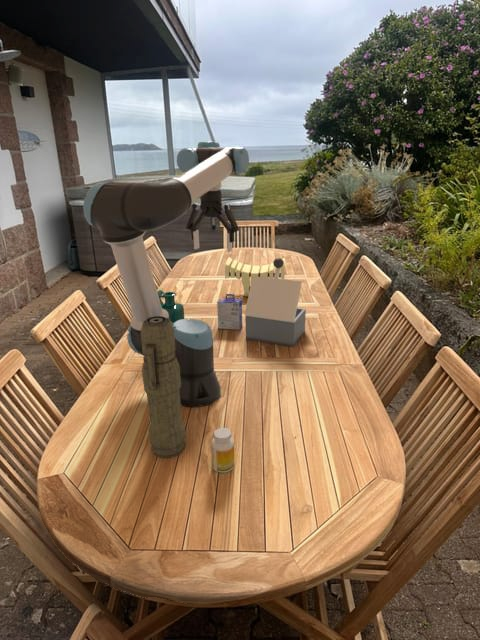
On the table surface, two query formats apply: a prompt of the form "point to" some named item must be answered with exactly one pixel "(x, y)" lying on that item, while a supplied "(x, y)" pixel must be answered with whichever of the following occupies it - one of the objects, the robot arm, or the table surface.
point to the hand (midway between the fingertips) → (213, 250)
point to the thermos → (162, 387)
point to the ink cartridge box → (229, 313)
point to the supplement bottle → (222, 450)
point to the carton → (276, 329)
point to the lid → (273, 297)
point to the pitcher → (171, 306)
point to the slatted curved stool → (250, 272)
